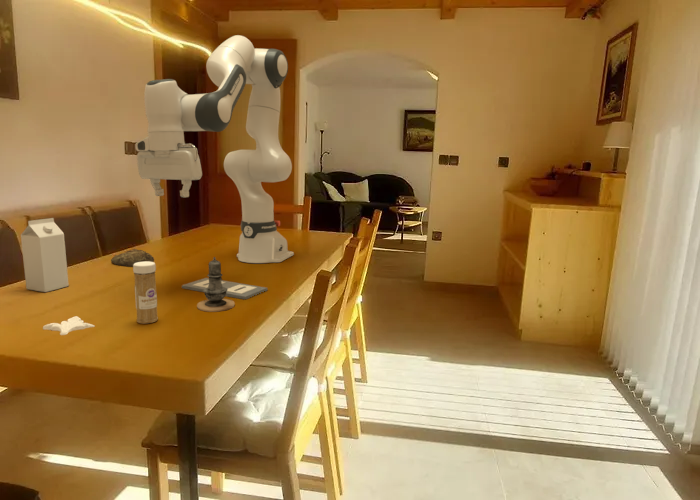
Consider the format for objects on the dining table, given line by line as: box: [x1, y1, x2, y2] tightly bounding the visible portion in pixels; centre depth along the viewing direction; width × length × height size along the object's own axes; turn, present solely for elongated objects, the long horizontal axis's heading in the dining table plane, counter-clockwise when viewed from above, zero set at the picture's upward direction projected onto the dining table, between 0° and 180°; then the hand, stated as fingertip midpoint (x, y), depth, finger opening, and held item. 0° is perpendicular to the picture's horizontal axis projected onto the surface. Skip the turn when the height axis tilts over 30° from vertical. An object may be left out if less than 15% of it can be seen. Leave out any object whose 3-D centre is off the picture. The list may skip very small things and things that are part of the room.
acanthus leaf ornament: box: [42, 315, 95, 336], centre depth 103 cm, size 8×7×2 cm
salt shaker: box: [202, 256, 228, 307], centre depth 119 cm, size 6×6×12 cm
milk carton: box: [20, 217, 70, 293], centre depth 130 cm, size 7×7×19 cm
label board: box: [181, 277, 268, 300], centre depth 135 cm, size 10×22×1 cm, turn 65°
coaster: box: [196, 298, 236, 313], centre depth 120 cm, size 9×9×1 cm
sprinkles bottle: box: [132, 261, 159, 325], centre depth 107 cm, size 5×5×13 cm
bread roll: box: [110, 248, 155, 268], centre depth 165 cm, size 13×12×5 cm
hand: (172, 196), depth 129 cm, fingers open, 8 cm apart
